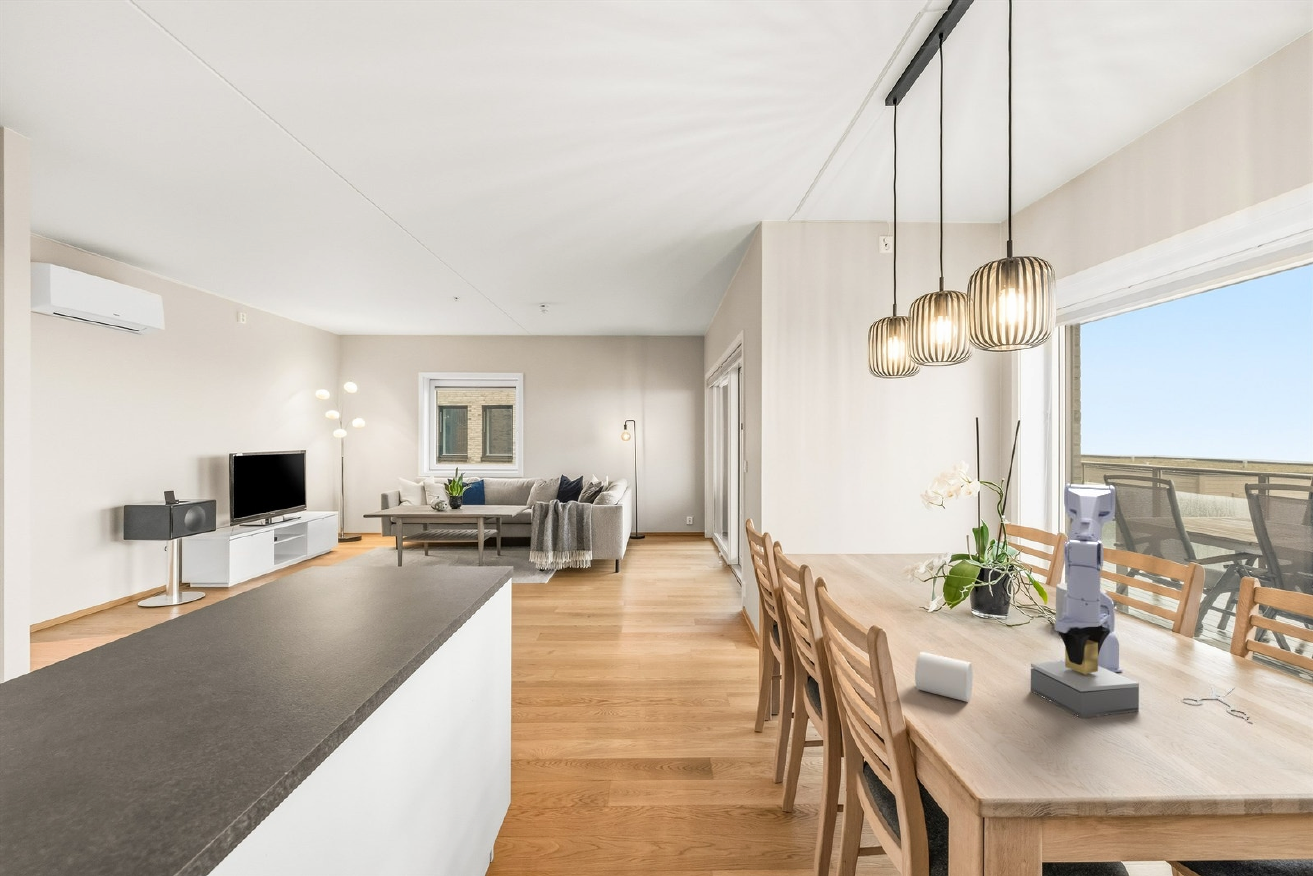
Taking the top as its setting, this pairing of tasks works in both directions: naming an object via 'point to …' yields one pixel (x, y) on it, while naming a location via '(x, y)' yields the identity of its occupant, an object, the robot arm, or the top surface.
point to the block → (1085, 659)
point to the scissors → (1215, 697)
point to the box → (1085, 697)
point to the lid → (1084, 677)
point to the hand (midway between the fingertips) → (1082, 661)
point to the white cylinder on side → (944, 676)
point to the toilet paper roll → (1060, 594)
